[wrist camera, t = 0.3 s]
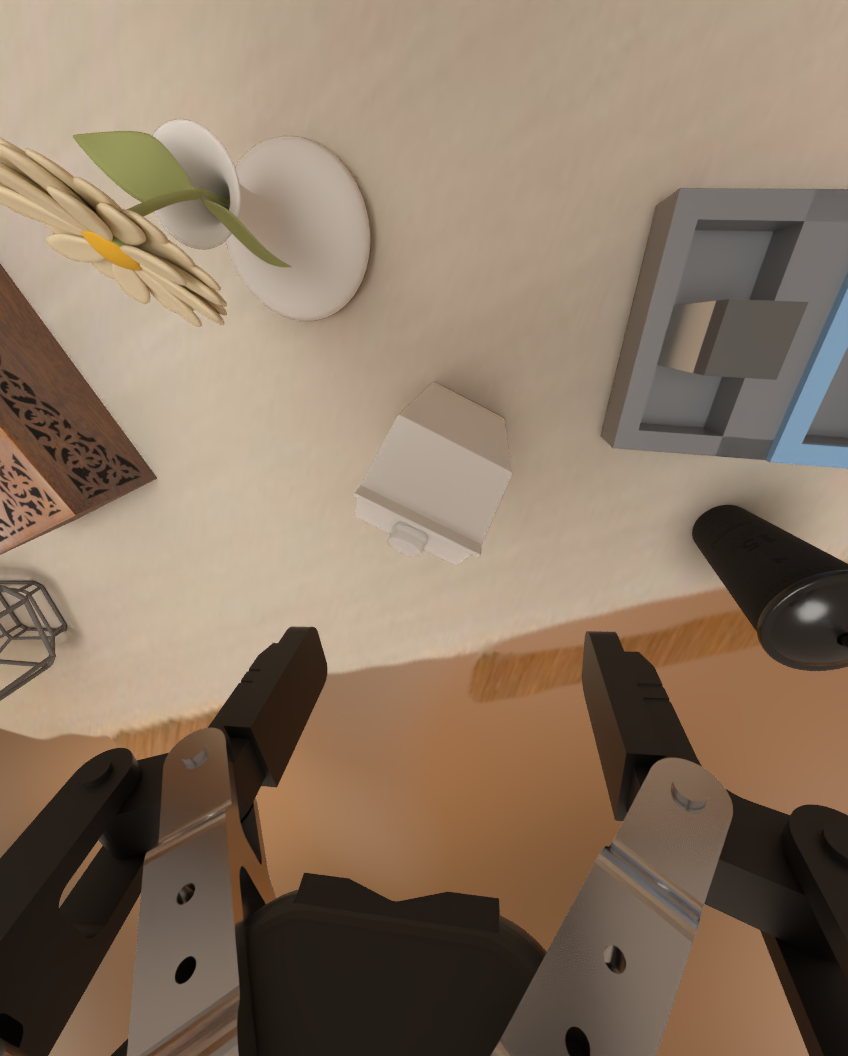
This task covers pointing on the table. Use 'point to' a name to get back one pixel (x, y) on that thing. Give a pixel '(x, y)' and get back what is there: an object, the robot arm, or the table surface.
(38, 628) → the geometric lantern
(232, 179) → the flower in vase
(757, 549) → the drinking cup
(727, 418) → the divided storage tray
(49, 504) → the tissue box cover
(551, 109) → the table surface
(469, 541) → the milk carton
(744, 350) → the gray rectangular block
